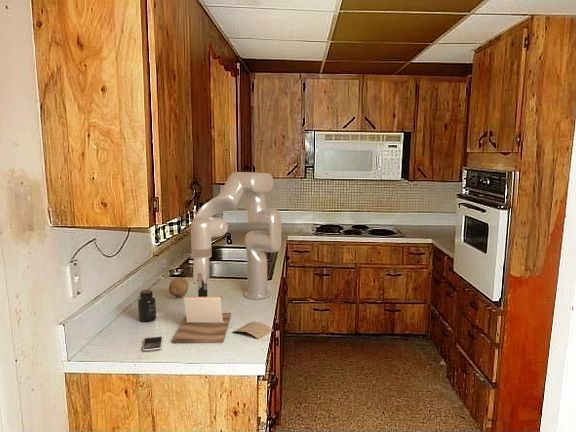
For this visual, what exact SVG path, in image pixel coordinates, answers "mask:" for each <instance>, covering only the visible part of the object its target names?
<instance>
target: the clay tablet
mask: <svg viewBox="0 0 576 432" xmlns="http://www.w3.org/2000/svg"><path fill="white" fill-rule="evenodd" d="M235 332H243V333H244V332H246V334H247V333H248V334H250V335H252V336H253V337H255V338H256V340H261V339H263V338H264V337H265V336H267V335H269V334H270V333H273V332H274V329H273V328H272V327H271V326H269V325H268V324H265V323H261V322H259V321H251V322H247V323H246V324H245V325H243V326H241V327H239V328H237V329H235V330H233V331H232V333H235Z"/></svg>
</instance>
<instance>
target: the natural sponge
mask: <svg viewBox="0 0 576 432" xmlns="http://www.w3.org/2000/svg"><path fill="white" fill-rule="evenodd" d="M188 290H189V283H188V281H187V280H186V279H185V278H183V277H176V278H174V279H173V280H171V282H170V283H169V286H168V292H169V294H170V295H171V296H174V297H175V298H177V299H182V298H184V297H186V296H185V295H186V294H187V292H188Z"/></svg>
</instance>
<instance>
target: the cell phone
mask: <svg viewBox="0 0 576 432" xmlns="http://www.w3.org/2000/svg"><path fill="white" fill-rule="evenodd" d="M162 344H163V336H150V337H145V338H144V342H143V346H142V351H143V353H151V352H159V351H161V350H162Z"/></svg>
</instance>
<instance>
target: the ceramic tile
mask: <svg viewBox="0 0 576 432" xmlns="http://www.w3.org/2000/svg"><path fill="white" fill-rule="evenodd" d="M183 304H184V310H185V317H186V319H187V323H223V315H222V313H223V307H222V305H223V304H222V297H221V296H207V297H198V296H184V297H183Z"/></svg>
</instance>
